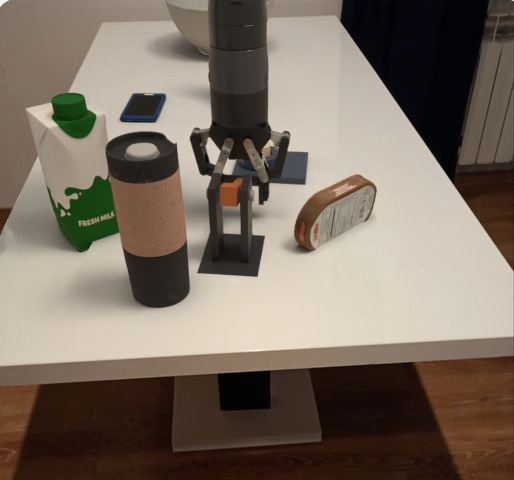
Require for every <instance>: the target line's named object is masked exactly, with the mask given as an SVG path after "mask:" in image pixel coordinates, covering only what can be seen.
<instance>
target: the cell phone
mask: <svg viewBox="0 0 514 480" xmlns="http://www.w3.org/2000/svg"><path fill="white" fill-rule="evenodd" d="M166 99H167V94H166V93H161V92H159V93H157V92H156V93H155V92H134V93H132V94H131V96H130V97H129V99H128V101H127V103H126V105H125V107H124V108H123V110H122V112H121V114H120V116H119V119H120V121H122V122H155V121H157V120H158V118H159V115H160V113H161V112H162V108H163V106H164V104H165V101H166Z"/></svg>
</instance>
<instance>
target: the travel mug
mask: <svg viewBox="0 0 514 480" xmlns="http://www.w3.org/2000/svg"><path fill="white" fill-rule="evenodd" d="M105 153H106V159H107V164H108V170H109V176H110V181H111V187H112V193H113V199H114V204H115V210H116V216H117V221H118V227H119V233H118V234H119V238H120V243H121V248H122V252H123V257H124V261H125V266H126V270H127V274H128V279H129V283H130V287H131V292H132V297H133V298H134V300H135V301H136V302H137V303H138V304H140V305H142V306H144V307H147V308H151V309H163V308H169V307H172V306H173V307H174V306H175V305H178V304H180V303H182V302H183V301H184V300H185V299H186V298H187V297H188V295H190V294H189V293H190V290H191V287H190V286H191V283H190V268H189V252H188V237H187V226H186V217H185V207H184V198H183V189H182V179H181V171H180V161H179V152H178V143H177V142H175V143H174V142H172V141H171V140H170V139H169V138H168V137H167V136H166V134H164V133H163V132H158V131H151V130H143V131H141V130H140V131H132V132H127V133H123V134H119V135H117V136H115V137H113V138H112V139H110V140H108V143H107V145H106V148H105Z"/></svg>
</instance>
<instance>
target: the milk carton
mask: <svg viewBox="0 0 514 480" xmlns="http://www.w3.org/2000/svg"><path fill="white" fill-rule="evenodd" d="M25 114H26V116H27V119H28V123H29V127H30V131H31V134H32V138H33V143H34V144H35V148H36V153H37V157H38V161H39V164H40V168H41V172H42V175H43V179H44V182H45V183H44V184H45V186H46V190H47V193H48V197H49V201H50V205H51V207H52V210H53V214H54V216H55V219H56V222H57V225H58V227H59V230H60V232H61V233H62V234H63V235H64V236H65V238H67V239H68V241H69V242H70V243H71V244H72V245H73V246H74V247H75V248H76V249H77V250H78V252H80V253H81V252H85V251H87V250H89V249H90V248H91V246H92V245H93V243H94V242H96V241H99V240H101V239H104V238H107V237H110V236H112V235H116V234H120V233H119V227H118V221H117V216H116V210H115V204H114V199H113V193H112V187H111V181H110V176H109V170H108V164H107V159H106V153H105V148H106V145H107V143H108V142H109V138H108V129H107V128H108V127H107V119H106V113H105V112H104V111H103V110H101V108H99V107H97V106H96V105H94V104H93V103H92V102H91V101H90V100H86V97H85V95H84V94H82V93H78V92H63V93H59V94H56V95H53V96H52V97H51V99H50V102H47V103H42V104H39V105H33V106H30V107H25Z"/></svg>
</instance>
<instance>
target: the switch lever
mask: <svg viewBox="0 0 514 480" xmlns="http://www.w3.org/2000/svg"><path fill="white" fill-rule="evenodd" d="M223 174H224V183H223V184H222V185H221V186H220V206H222V207H234V208H235V207H236V208H238V206H240V188H241V184H242V180H243V177H244V175H232V174H229V173H228V174H226V173H223ZM252 187H259V176H252Z"/></svg>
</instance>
